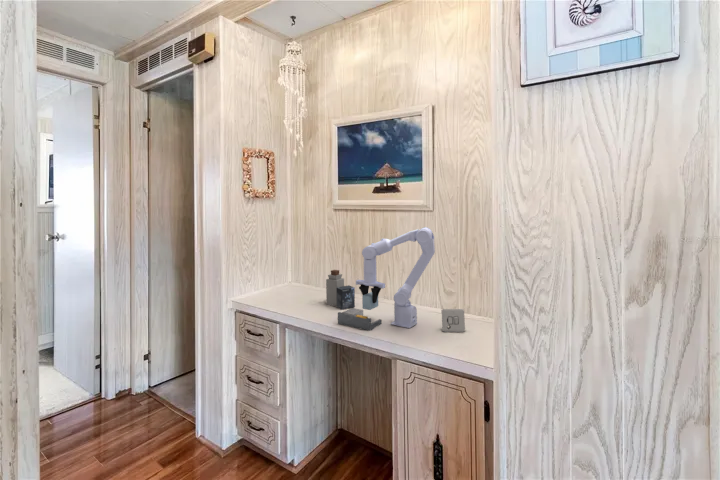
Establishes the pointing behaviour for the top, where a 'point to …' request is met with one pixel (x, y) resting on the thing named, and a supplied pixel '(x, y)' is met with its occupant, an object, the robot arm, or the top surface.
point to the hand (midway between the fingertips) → (370, 301)
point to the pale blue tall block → (368, 301)
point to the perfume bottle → (333, 287)
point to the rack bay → (357, 319)
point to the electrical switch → (453, 320)
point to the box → (345, 297)
